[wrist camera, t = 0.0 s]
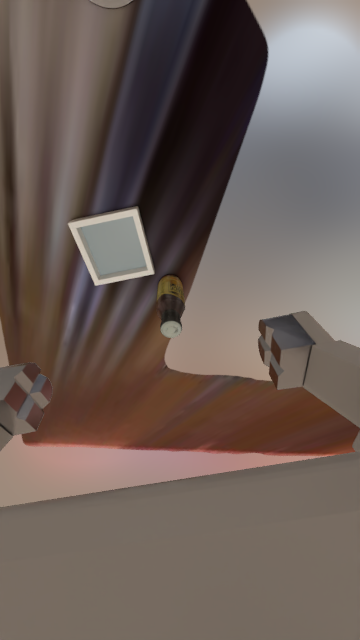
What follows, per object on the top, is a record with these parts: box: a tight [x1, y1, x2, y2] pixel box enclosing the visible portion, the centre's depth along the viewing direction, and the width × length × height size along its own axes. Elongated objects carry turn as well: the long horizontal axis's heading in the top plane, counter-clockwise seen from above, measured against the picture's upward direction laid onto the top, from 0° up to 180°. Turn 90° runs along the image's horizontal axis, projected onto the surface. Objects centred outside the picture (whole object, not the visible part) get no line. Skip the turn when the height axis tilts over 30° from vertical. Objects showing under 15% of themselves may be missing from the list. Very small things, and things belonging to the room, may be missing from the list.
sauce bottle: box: [157, 275, 185, 338], centre depth 52 cm, size 6×6×20 cm
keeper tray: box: [68, 206, 154, 286], centre depth 52 cm, size 14×14×3 cm
